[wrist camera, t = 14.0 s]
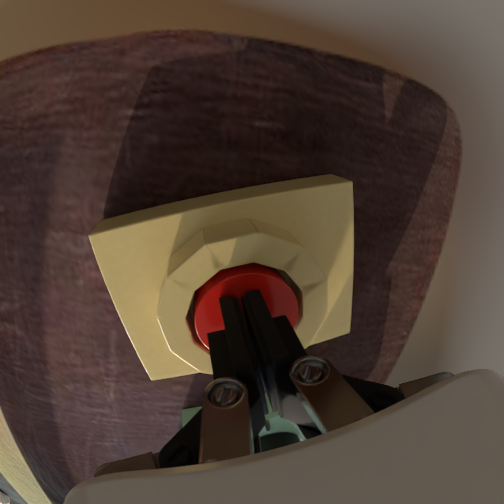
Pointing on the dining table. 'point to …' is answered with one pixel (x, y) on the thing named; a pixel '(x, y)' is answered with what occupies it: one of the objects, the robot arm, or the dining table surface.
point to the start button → (237, 285)
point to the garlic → (4, 498)
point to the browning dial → (278, 440)
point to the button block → (228, 262)
